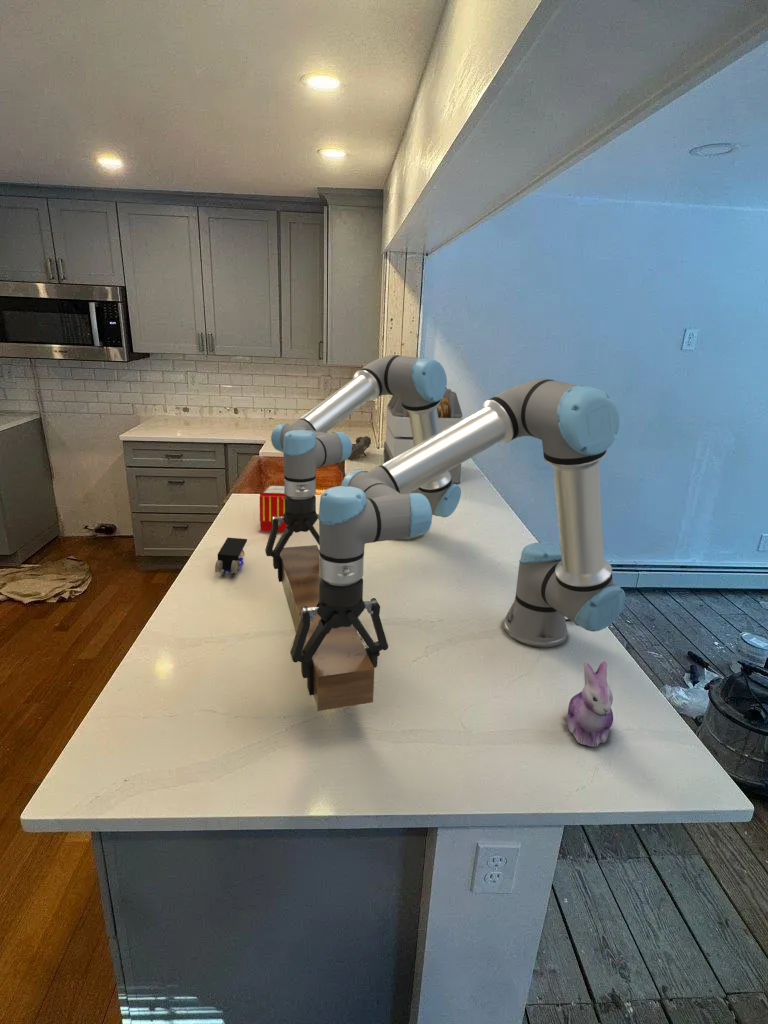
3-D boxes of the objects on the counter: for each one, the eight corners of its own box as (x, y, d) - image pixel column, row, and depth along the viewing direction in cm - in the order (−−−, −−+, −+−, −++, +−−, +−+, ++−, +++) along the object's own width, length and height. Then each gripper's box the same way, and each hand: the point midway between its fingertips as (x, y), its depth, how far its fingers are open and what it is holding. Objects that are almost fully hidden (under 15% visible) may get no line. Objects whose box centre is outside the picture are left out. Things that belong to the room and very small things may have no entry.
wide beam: (279, 572, 148) (278, 547, 146) (316, 569, 151) (316, 544, 149) (317, 711, 98) (317, 676, 96) (373, 702, 101) (374, 668, 99)
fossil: (346, 442, 311) (368, 427, 306) (357, 455, 314) (379, 440, 309) (340, 456, 291) (363, 440, 286) (351, 470, 294) (374, 454, 289)
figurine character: (238, 584, 162) (249, 557, 175) (236, 562, 158) (247, 536, 172) (215, 584, 161) (227, 556, 175) (212, 561, 158) (225, 535, 171)
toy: (300, 481, 221) (289, 494, 192) (300, 514, 224) (289, 533, 194) (268, 480, 221) (253, 493, 191) (269, 514, 223) (254, 532, 194)
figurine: (591, 756, 102) (606, 687, 97) (551, 721, 111) (563, 655, 106) (628, 741, 107) (644, 673, 101) (587, 708, 115) (599, 644, 110)
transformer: (382, 463, 289) (386, 382, 275) (445, 464, 293) (451, 384, 279) (390, 482, 257) (394, 392, 243) (460, 483, 261) (468, 394, 247)
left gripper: (253, 502, 131) (257, 588, 138) (349, 497, 137) (347, 579, 145) (251, 492, 137) (254, 575, 145) (342, 488, 144) (341, 567, 152)
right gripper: (276, 594, 90) (279, 709, 97) (411, 580, 96) (404, 689, 104) (271, 573, 97) (274, 682, 104) (397, 562, 103) (391, 665, 111)
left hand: (301, 577), depth 145 cm, fingers closed on wide beam, 10 cm apart
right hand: (339, 686), depth 104 cm, fingers closed on wide beam, 10 cm apart
